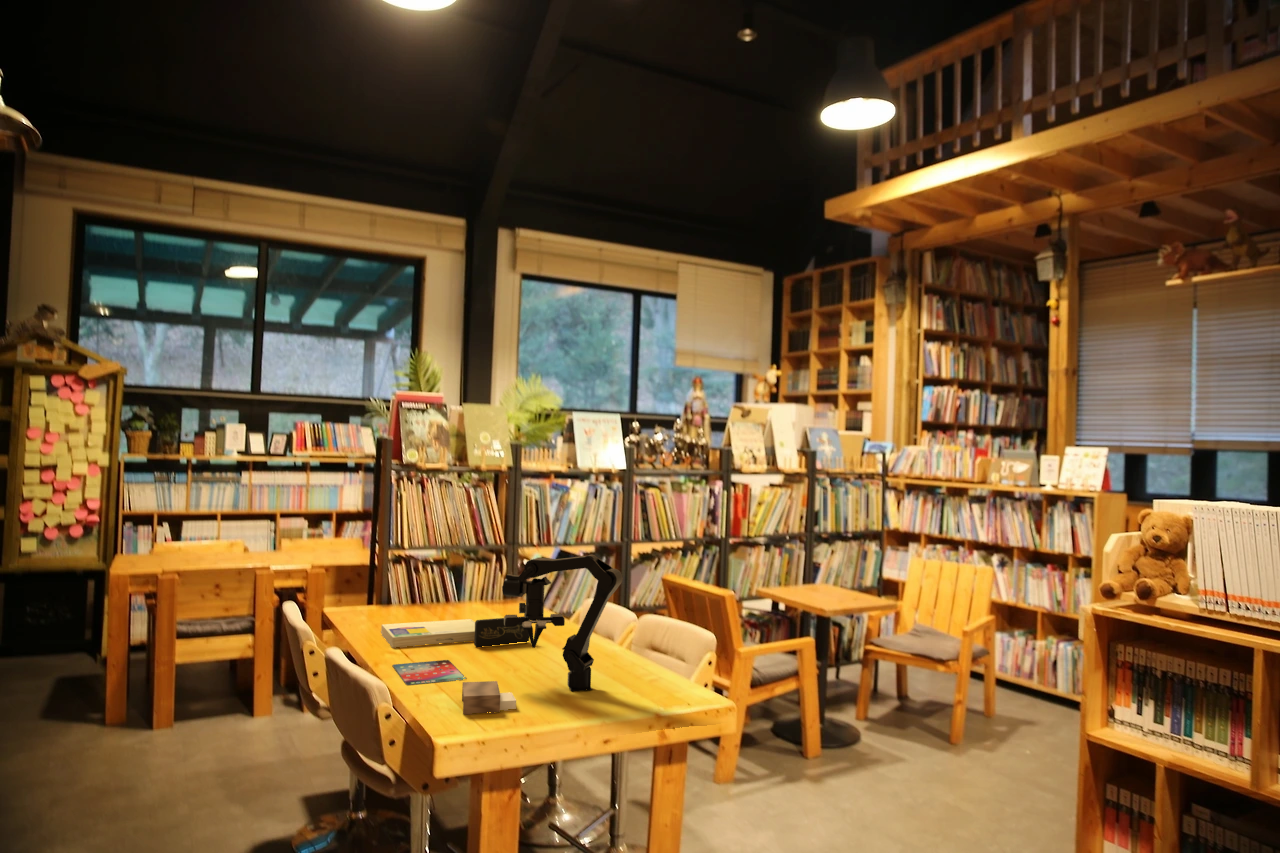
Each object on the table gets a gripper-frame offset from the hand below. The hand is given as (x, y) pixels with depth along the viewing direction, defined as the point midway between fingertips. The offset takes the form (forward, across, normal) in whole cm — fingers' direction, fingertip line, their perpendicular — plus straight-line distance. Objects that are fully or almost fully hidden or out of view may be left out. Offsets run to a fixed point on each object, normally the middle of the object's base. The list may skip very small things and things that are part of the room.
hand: (533, 647), depth 261 cm
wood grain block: (+11, +17, +22) cm, 30 cm away
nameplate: (+11, +6, -52) cm, 54 cm away
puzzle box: (+12, +31, -67) cm, 75 cm away
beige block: (+12, +13, +23) cm, 29 cm away
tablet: (+12, +32, -16) cm, 38 cm away
